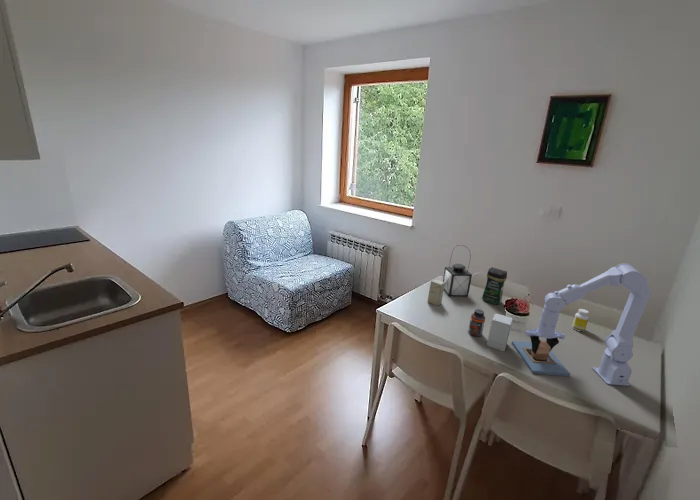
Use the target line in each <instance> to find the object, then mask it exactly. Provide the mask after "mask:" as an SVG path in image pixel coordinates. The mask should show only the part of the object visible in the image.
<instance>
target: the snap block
mask: <svg viewBox="0 0 700 500" xmlns="http://www.w3.org/2000/svg"><path fill="white" fill-rule="evenodd" d="M540 341H541V342H540V344H539V346H538V349H537V352H536V353H533V351H532V350H531V352H530V355H532V357H533V359H535V360H536V361H548V360H549V359H548V356H549V352H550V348H551V347H550V346H549V345H548V344H547V342H546V340H540Z"/></svg>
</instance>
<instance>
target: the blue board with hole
mask: <svg viewBox="0 0 700 500" xmlns="http://www.w3.org/2000/svg"><path fill="white" fill-rule="evenodd" d="M511 345H512V346H513V348H514V349H515V351H516V352H517V353H518V355H519V357H520V359H522V361H523V362H524V364H525V365H526V367H527V368H528V369H529V371H530V372H531V373H532V374H538V375H551V376H564V377H570V375H571V373H570V372H569V370H568V369H567V368H566V366H565V365H564V364H563V363H562V362H561V361H560V359H558V356H556V355H555V353H554V352H553V351H552V350H551V351H550V352H549V356H548V359H547V360H534V358H533V356H531V354H529V353H531V350H532V343H531V341H521V340H520V341H517V340H511Z"/></svg>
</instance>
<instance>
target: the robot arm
mask: <svg viewBox="0 0 700 500" xmlns="http://www.w3.org/2000/svg"><path fill="white" fill-rule="evenodd" d="M609 285H610V286H614V287H617V288H618V287H619V288H620V287H621V285H623V286H624V287H625V288H626V289H628V290H629V291H630V293H629V296H628V297H627V298H628V299H627V300H626V303H625V305H624V309H623V311H622V314H621V316H620V318H619V321H618V323H617V325H616V328H615V329H613V330H612V331H611V333H610V335H608V336H607V337H606V338H605V341H604V342H605V345H606V348H605V349H604V351H603V354H602V358H601V360H600V364H599V366H598V367H595V366H594V367H592V369H593V371H595V373H596V374H597V375H598V376H599V377H600V378H601V379H602V380H603V381H604V382H605V383H606V384H607V385H614V386H625V387H626V386H627V387H629V386H630V383H629V381H630V377H631V375H632V371H633V370H632V368H631V366H630V365H629V363H628V361H630V360H631V359H632V358H633V355H634V353H633V348H634V340H633V339H634V338H633V337H634V336H635V332H636V331H637V328H638V325H639V323H640V320H641V318H642V316H643V314H644V311H645V309H646V307H647V304H648V301H649V299H650V296H651V293H652V291H651V289H650V286H649V283H648V279H647V278H646V277H645V276H644V275H643V274H642V273H641V272H639V270H637V268H636V267H635V266H633V264H630V263H628V262H625V263H620V264H617V265H616V266H613V267H610V268H608V270H606V271H605V272H603V273H600V274H598V275H597V276H595V277H593V278H591V279H588V281H587V280H586V281H584V282H583V283H581V284H576V283H574V284H567V285H566V287H564V288H562V289H560V290H558V291H557V290H556V291H554V292H548V294H546V295H545V296H544V297H543V301H544V305H543V309H542V311H541V316H540V319H539V323H538V327H537V328H535V329H526V330H525V333H524V335H525V336H526V337H527V338H530V342H531V343H532V351H533V353H536V352H537V349H538V346H539V344H540V342H541V341H542V340H540V338H543V339H545V341H546V342H547V344H548V345H549V346H550V347H551V348H550V351H552V350H553V348H554V347H556V346H557V345H559V342H560V341H559V339H561V340H565V338H566V334H565V333H563V332H560V331H556V327H557V324H558V321H559V317H560V313H561V311H563V309H564V308H565V307H566V306H567V305H570V304H573V303H575V302H576V301H579V300H581V299H584V297H585V295H586V294H587V293H590V292H592V291H595V290H598V289H600V288H604V287H606V286H609Z"/></svg>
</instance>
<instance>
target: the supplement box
mask: <svg viewBox="0 0 700 500" xmlns="http://www.w3.org/2000/svg"><path fill="white" fill-rule="evenodd" d="M512 323H513V318H512V317H510V316H506V315H502V314H499V313H497V312H496V313H494V315H493V317H492V319H491V325H490V328H489V333H488V339H487V342H486V346H487V347H490V348H493V349H495V350H499V351H501V352H505V350H506V347H507V344H508V341H509V340H508V339H509V336H510V332H511V328H512Z"/></svg>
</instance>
